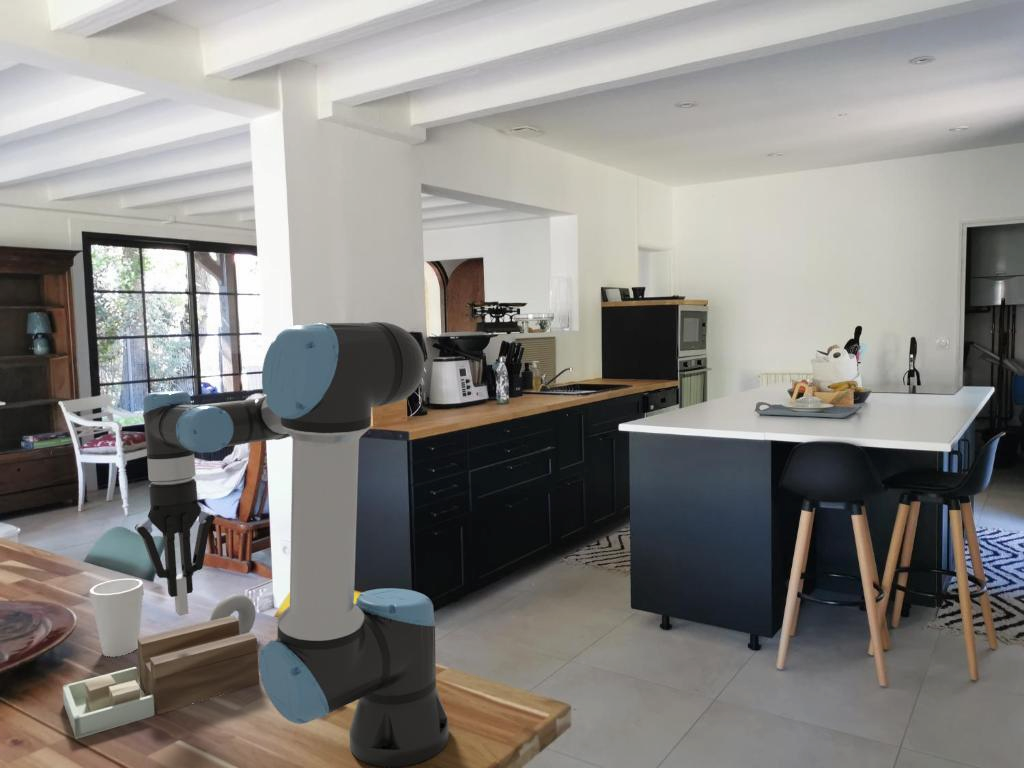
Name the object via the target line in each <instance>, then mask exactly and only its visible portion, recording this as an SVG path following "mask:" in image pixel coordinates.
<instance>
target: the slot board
mask: <svg viewBox="0 0 1024 768" xmlns="http://www.w3.org/2000/svg"><path fill="white" fill-rule="evenodd" d="M137 641H138V648H137V659H138V673H139V674H138V675H139V676H138V678H139V685H140V687H141V689H142V691H143V692H144V694H146V695H145V696H149V695H153V699H154V712H155V713H156V714H157V715H161V714H165V713H167V712H166V711H168V712H170V711H169V710H171V711H174V709H175V710H178V709H181V708H180V707H182V708H184V707H183V706H185V707H187V706H186V705H188V706H190V705H189V704H192V703H195V704H197V703H196V702H198V703H200V702H199V701H202V700H205V701H207V700H206V699H208V700H211V699H210V698H212V699H215V698H218V697H221V696H220V695H222V696H224V695H223V694H225V695H228V694H232V693H235V692H237V691H241V690H245V689H248V688H251V687H254V686H258V685H260V670H259V652H258V637H256V636H255V634H254V633H252V631H250V632H249V633H245V634H242V635H241V634H240V633H239V620H238V617H236V616H235V615H234V614H233V615H230V616H228V617H224V618H220V619H216V620H212V621H210V620H209V621H204V622H201V623H195V624H192V625H188V626H184V627H180V628H176V629H172V630H171V629H170V630H168V631H163V632H158V633H154V634H151V635H146V636H142V637H139V638H137ZM231 692H232V693H231ZM217 696H218V697H217ZM214 697H215V698H214ZM202 702H203V701H202ZM192 705H193V704H192ZM177 708H178V709H177ZM164 712H165V713H164Z"/></svg>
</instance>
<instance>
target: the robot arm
mask: <svg viewBox="0 0 1024 768" xmlns="http://www.w3.org/2000/svg"><path fill="white" fill-rule="evenodd" d="M263 359H264V360H263V365H262V372H261V385H262V386H261V388H262V393H263V394H264V395H265V396H263V397H259V398H253V399H246V400H235V401H234V400H233V401H225V402H224V401H222V402H215V403H214V402H213V403H205V404H193V403H192V401H191V396H190V393H189V392H188V391H185V390H171V391H170V390H168V391H165V390H164V391H156V392H150V393H147V394H146V395H145V396H144V397H143V413H142V418H143V421H144V422H143V424H144V425H143V426H144V436H145V446H146V447H145V448H146V457H147V474H148V476H147V477H148V480H149V481H150V482H151V483H150V485H148V488H149V500H150V502H149V503H150V505H149V506H150V510H149V512H148V514H147V518H146V519H145V520H144V521H143V522H141V523H137V524H136V525H135V526H134V529H135V531H136V532H137V533H138V534H139V535H140V537H142V540H143V543H144V546H145V548H146V552H147V554H148V557H149V560H150V564H151V565H152V568H153V571H154V573H155V575H156V576H157V577H158V578H159V579H166V583H167V593H168V595H169V596H170V598H174V606H175V607H174V608H175V613H176V614H177V615H178V616H185V615H189V602H188V594H192V593H193V590H194V588H193V586H194V585H193V584H194V583H193V575H194V573H196V572H198V571H201V570H202V569H203V566H204V561H205V557H206V549H207V544H208V539H209V532H210V528H211V526H212V525H213V522H214V521H215V519H216V518H215V515H214V514H213V513H210V512H205V511H203V510H202V507H201V505H200V504H199V502H198V491H197V490H198V488H197V480H196V479H195V478H194V477H195V476H196V472H197V471H196V462H195V459H196V458H195V452H196V453H199V454H204V453H215V452H218V451H220V450H222V449H224V448H226V447H233V446H239V445H240V446H241V445H245V444H252V443H257V442H265V441H266V442H267V441H273V440H274V441H275V440H276V441H277V440H282V439H283V440H284V439H288V438H289V437H290V438H291V439H292V453H291V457H292V459H291V461H292V462H291V508H290V509H291V513H290V517H291V518H290V525H291V526H290V563H289V564H290V567H289V568H290V570H289V571H290V574H289V575H290V576H289V606H288V607H287V608H285V609H284V610H283V612H281V613H280V614H279V616H278V618H277V619H278V620H277V638H276V639H275V640H270V641H268V643H266V644H265V645H264V646H263V648H262V649H261V650H260V653H259V654H258V663H259V677H260V679H261V682H262V685H263V688H264V691H265V693H266V695H267V696H268V699H269V701H270V702H271V704H272V706H273V708H275V710H276V711H277V712H278V713H279V714H280V715H281V716H282V717H283V718H284V719H286V720H287V721H289V722H291V723H292V724H298V725H302V724H307V723H309V722H312V721H314V720H317V719H319V718H325V717H327V716H328V715H329V714H331V713H333V712H334V711H336V710H338V709H341V708H343V707H345V706H347V705H349V704H351V703H353V702H356V701H357V704H356V706H355V707H356V708H355V711H354V714H353V718H352V720H351V725H350V728H349V748H350V750H351V753H352V754H353V756H355V757H356V758H357V759H358V760H360V761H361V762H363V763H365V764H369V765H371V766H375V767H383V768H398V767H407V766H411V765H416V764H419V763H422V762H424V761H427V760H429V759H431V758H433V757H434V756H436V755H437V754H439V753H440V752H441V751H442V750H443V749H444V748H445V747H446V745H447V744H448V741H449V738H450V733H449V719H448V716H447V713H446V711H445V707H444V706H443V703H442V700H441V697H440V694H439V692H438V690H437V678H436V677H437V676H436V674H437V673H436V672H437V670H436V668H437V667H436V624H437V623H436V621H435V615H434V613H435V612H434V604H433V602H432V600H431V599H430V598H429V596H427V595H425V594H424V593H421V592H418V591H415V590H411V589H405V588H395V587H394V588H392V587H390V588H389V587H388V588H376V589H370V590H366V591H363V592H362V593H360V594H359V595H358V596H357V598H356V602H355V580H356V579H355V575H356V572H355V571H356V545H357V543H356V542H357V540H356V539H357V518H358V517H357V513H358V512H357V511H358V510H357V509H358V481H359V480H358V479H359V477H358V476H359V453H360V452H359V451H360V449H359V448H360V438H361V437H362V436H363V435H364V434H365V433H366V432H368V430H370V429H371V426H372V410H373V409H372V408H375V407H381V406H387V405H392V404H395V403H399V402H402V401H403V400H405V399H407V398H409V397H410V396H412V394H413V393H414V392H416V391H417V389H418V387H419V385H421V382H422V379H423V377H424V373H425V358H424V353H423V350H422V348H421V345H420V344H419V342H418V341H417V339H416V338H415V337H414V336H413V335H412V334H411V333H410V332H408V331H407V330H405V329H404V328H402V327H400V326H398V325H396V324H393V323H389V322H386V321H384V322H382V321H381V322H379V321H373V322H372V321H370V322H312V323H309V324H299V325H293V326H290V327H287V328H285V329H284V330H282V331H281V332H279V333H278V334H277V335H276V338H275V339H274V340H273V341H272V342H271V343H270V345H269V347H268V349H267V352H266V354H265V357H264V358H263ZM197 520H198V521H197ZM196 521H197V522H198V523H199V525H198V529H197V534H196V540H195V545H194V551H193V557H192V552H191V551H192V550H191V549H192V548H191V546H192V545H191V529H192V528H193V526H194V524H195V522H196ZM152 525H154V527H156V528H157V529H158V531H160V533H162V538H163V546H164V547H163V549H164V550H163V551H164V562H165V563H164V564H165V568H164V565H163V563H162V560H161V556H160V554H159V552H158V548H157V546H156V543H155V540H154V537H153V536H152V532H153V527H152ZM175 534H178V537H179V539H178V540H179V550H180V551H179V552H180V566H181V572H182V573H179V574H177V572H178V571H177V562H176V543H175V539H176V535H175Z"/></svg>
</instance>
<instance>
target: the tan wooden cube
mask: <svg viewBox="0 0 1024 768" xmlns="http://www.w3.org/2000/svg"><path fill="white" fill-rule="evenodd" d="M84 684H85V699H86V706H87V707H88V709H89V711H90V712H93V711H96V710H100V709H103V708H107V707H110V695H109V687H110V686H114V685H116V682H115V681H114V679H113V678H112V676H111V675H108V676H105V677H101V678H98V679H94V680H91V681H87V682H84Z"/></svg>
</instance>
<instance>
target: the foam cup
mask: <svg viewBox="0 0 1024 768" xmlns="http://www.w3.org/2000/svg"><path fill="white" fill-rule="evenodd" d="M144 595H145V593H144V582H143V581H142V580H141V579H137V578H118V579H112V580H108V581H104V582H101V583H98V584H96V585H94V586H92V587H91V588H90V589H89V598H90V599H89V601H90V605H91V606H92V609H93V613H94V614H93V615H94V619H95V623H96V628H97V631H98V639H99V641H100V646H101V650H102V654H103V656H105V657H107V656H108V658H115V657H116V656H117V657H123V656H126V654H127V655H129V654H128V653H130V654H131V652H132V653H133V651H134V650H136V649H137V650H138V648H137V647H138V641H137V638H140V630H141V619H142V609H143V608H142V607H143V597H144ZM134 652H135V651H134ZM122 655H123V656H122ZM109 656H110V657H109Z"/></svg>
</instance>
